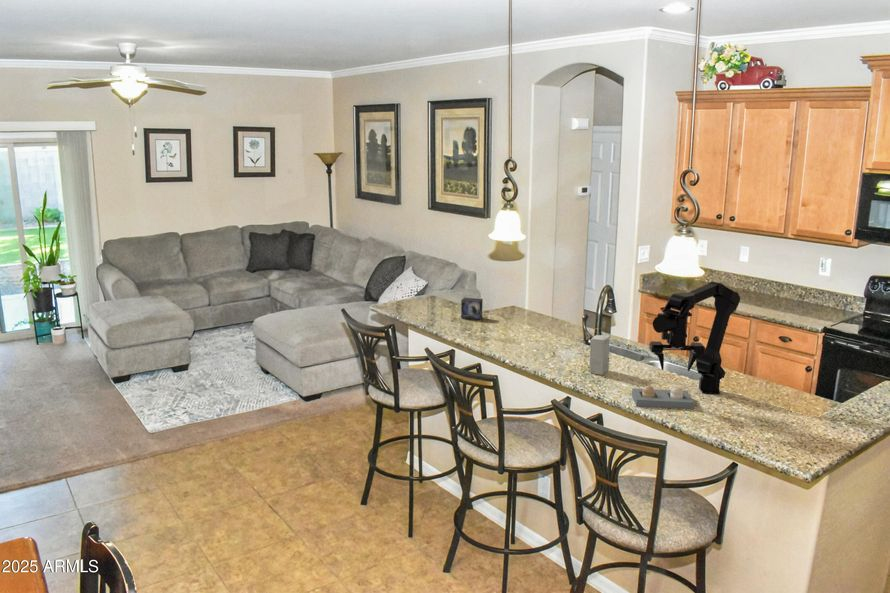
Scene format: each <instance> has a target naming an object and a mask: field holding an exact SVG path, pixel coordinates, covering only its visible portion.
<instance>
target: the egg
mask: <svg viewBox="0 0 890 593" xmlns="http://www.w3.org/2000/svg"><path fill="white" fill-rule="evenodd" d="M670 390H671V392H670V398H674V399H683V391H684V390H683V389H682V387H681V388H680V387H679V386H674V387H673V388H671V389H670Z"/></svg>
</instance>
